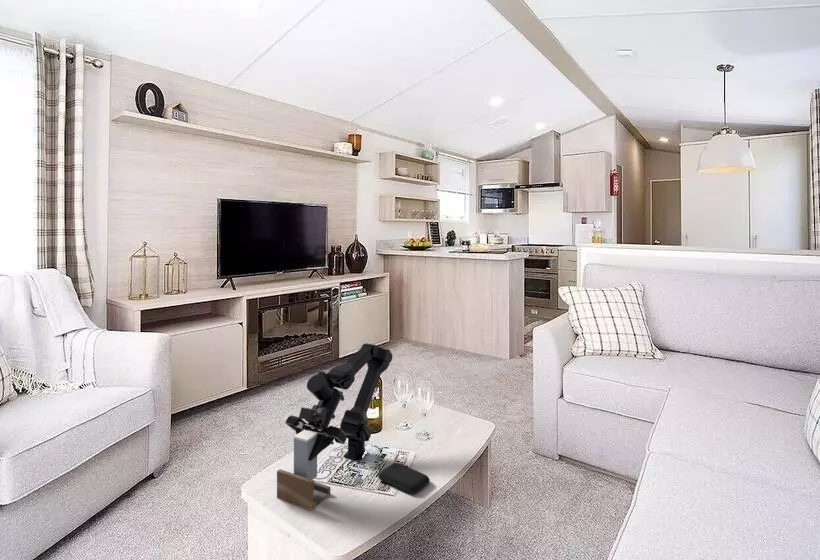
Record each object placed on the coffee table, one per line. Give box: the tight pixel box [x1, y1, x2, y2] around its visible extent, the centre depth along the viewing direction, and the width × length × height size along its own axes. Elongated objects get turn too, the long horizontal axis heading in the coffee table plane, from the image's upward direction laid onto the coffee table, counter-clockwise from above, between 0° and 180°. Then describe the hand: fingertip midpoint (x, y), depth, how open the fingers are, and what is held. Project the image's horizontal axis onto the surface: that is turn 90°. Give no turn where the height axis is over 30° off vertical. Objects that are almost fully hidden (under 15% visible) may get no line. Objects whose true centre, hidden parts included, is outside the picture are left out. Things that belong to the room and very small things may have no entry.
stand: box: [276, 468, 331, 511], centre depth 130 cm, size 9×12×8 cm
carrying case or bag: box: [377, 462, 430, 495], centre depth 140 cm, size 11×3×15 cm
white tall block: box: [293, 430, 318, 480], centre depth 129 cm, size 5×5×13 cm
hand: (302, 458), depth 128 cm, fingers closed on white tall block, 5 cm apart
